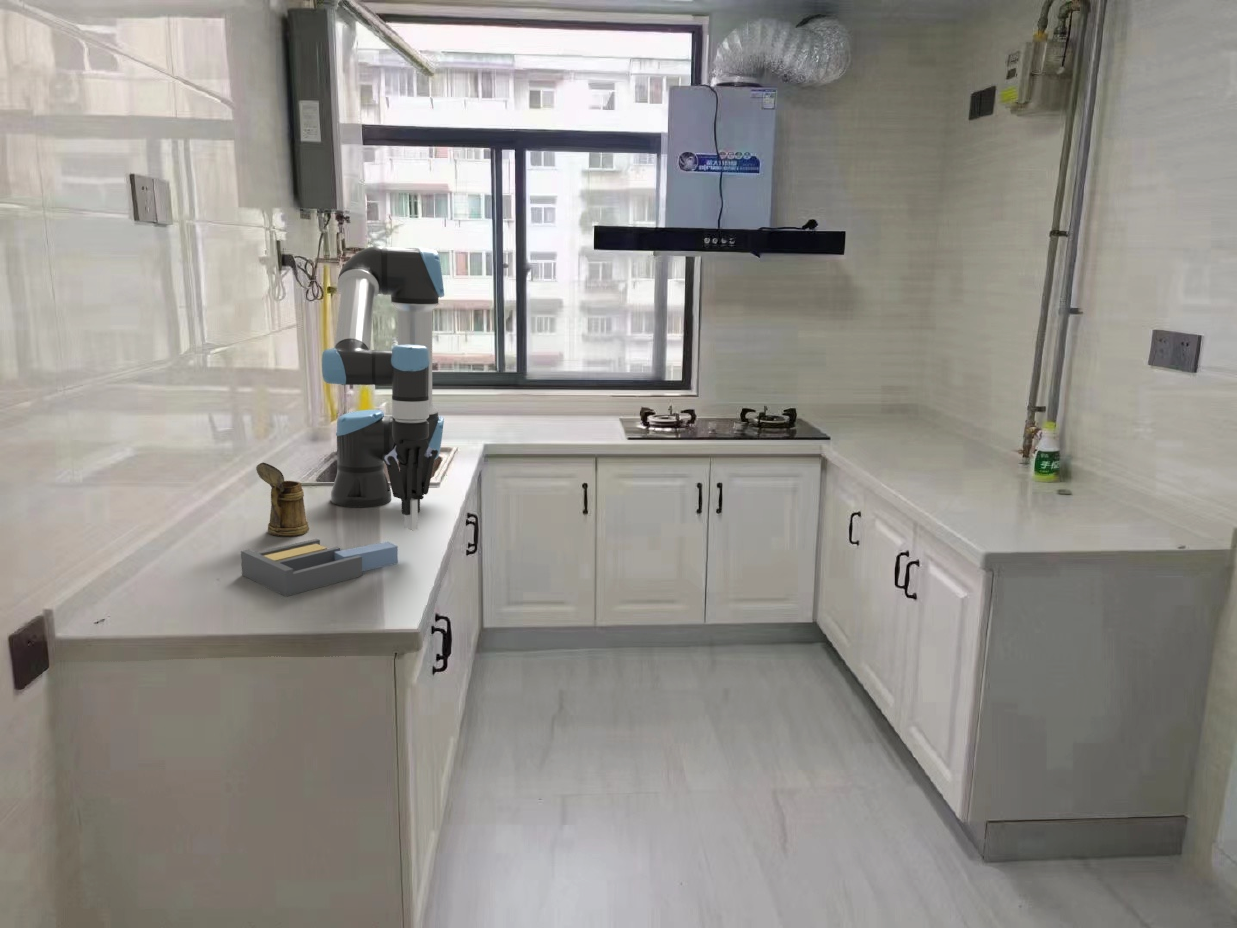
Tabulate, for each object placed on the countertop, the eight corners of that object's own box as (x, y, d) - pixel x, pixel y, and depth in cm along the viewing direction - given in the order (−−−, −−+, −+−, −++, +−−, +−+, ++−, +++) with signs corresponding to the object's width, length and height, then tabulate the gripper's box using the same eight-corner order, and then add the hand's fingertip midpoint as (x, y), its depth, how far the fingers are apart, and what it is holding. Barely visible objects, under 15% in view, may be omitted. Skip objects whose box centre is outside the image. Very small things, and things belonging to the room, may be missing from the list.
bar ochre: (316, 561, 188) (316, 543, 187) (327, 566, 185) (327, 547, 184) (262, 575, 179) (262, 556, 178) (273, 580, 176) (272, 560, 175)
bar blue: (388, 559, 191) (387, 541, 190) (397, 564, 188) (397, 546, 188) (334, 570, 183) (334, 551, 182) (344, 576, 180) (343, 557, 179)
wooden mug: (247, 540, 199) (243, 460, 195) (282, 524, 212) (279, 449, 208) (283, 544, 197) (280, 464, 193) (316, 527, 210) (314, 452, 206)
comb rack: (316, 556, 190) (316, 534, 189) (362, 575, 180) (361, 551, 179) (242, 575, 177) (240, 550, 176) (286, 596, 168) (285, 570, 166)
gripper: (423, 414, 195) (424, 519, 200) (373, 420, 185) (374, 530, 190) (446, 419, 191) (446, 526, 195) (395, 425, 181) (396, 538, 186)
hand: (410, 528), depth 193 cm, fingers closed
